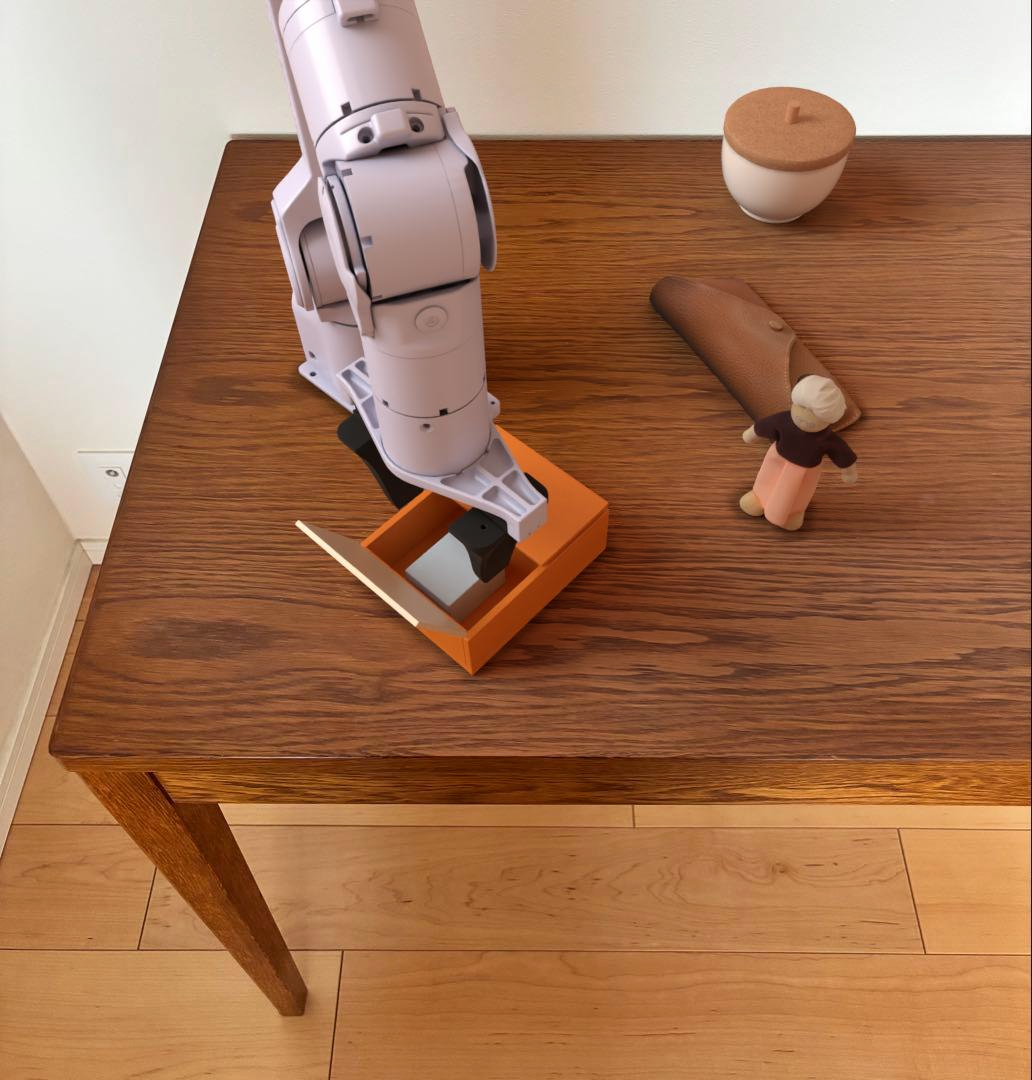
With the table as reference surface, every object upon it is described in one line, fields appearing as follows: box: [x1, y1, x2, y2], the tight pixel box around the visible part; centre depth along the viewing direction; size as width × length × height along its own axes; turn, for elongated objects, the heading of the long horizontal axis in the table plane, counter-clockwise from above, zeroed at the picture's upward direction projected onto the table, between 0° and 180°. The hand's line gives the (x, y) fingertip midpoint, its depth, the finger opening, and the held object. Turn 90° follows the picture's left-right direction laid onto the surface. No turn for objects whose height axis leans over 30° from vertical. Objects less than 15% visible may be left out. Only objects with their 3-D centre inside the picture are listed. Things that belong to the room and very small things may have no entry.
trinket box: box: [720, 86, 857, 224], centre depth 84 cm, size 11×11×9 cm
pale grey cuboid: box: [405, 533, 506, 624], centre depth 64 cm, size 5×4×3 cm
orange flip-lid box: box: [359, 424, 610, 676], centre depth 64 cm, size 13×10×5 cm
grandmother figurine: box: [739, 375, 859, 531], centre depth 63 cm, size 8×4×13 cm, turn 70°
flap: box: [294, 519, 467, 638], centre depth 57 cm, size 6×10×1 cm
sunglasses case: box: [648, 274, 862, 444], centre depth 75 cm, size 18×7×7 cm
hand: (449, 533), depth 60 cm, fingers open, 7 cm apart
